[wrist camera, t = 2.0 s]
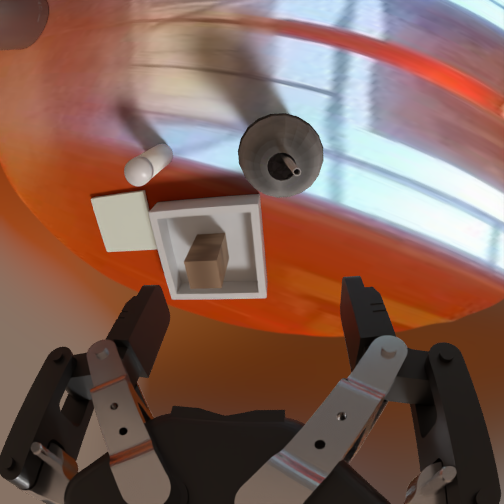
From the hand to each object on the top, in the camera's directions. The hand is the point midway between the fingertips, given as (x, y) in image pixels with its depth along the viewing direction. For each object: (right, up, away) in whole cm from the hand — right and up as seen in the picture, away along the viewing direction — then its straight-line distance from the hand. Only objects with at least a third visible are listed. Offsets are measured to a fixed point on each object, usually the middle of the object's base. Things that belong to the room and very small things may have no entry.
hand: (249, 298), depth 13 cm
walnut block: (-5, +3, +30) cm, 30 cm away
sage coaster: (-19, +6, +29) cm, 35 cm away
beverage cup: (+3, +16, +22) cm, 27 cm away
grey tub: (-5, +3, +30) cm, 31 cm away
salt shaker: (-11, +14, +24) cm, 30 cm away
